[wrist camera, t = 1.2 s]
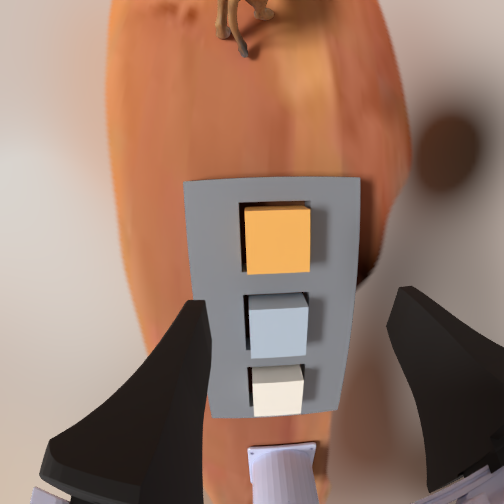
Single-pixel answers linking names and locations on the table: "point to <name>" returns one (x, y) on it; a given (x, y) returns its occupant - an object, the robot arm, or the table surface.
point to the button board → (274, 283)
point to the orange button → (277, 239)
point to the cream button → (277, 390)
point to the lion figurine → (229, 5)
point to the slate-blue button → (278, 325)
